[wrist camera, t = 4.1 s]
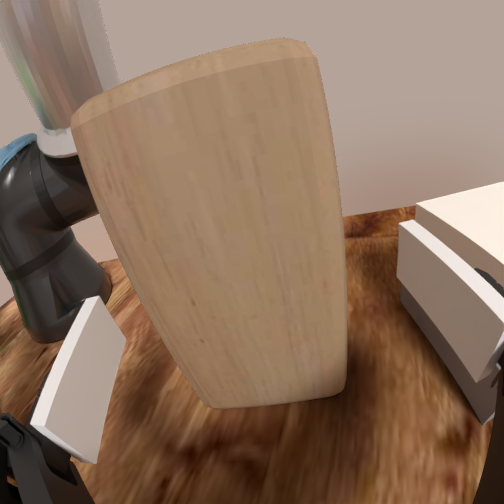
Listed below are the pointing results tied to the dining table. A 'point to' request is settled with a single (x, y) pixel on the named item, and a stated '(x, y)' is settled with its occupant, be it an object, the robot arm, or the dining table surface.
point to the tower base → (455, 362)
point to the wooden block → (228, 218)
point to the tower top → (469, 226)
